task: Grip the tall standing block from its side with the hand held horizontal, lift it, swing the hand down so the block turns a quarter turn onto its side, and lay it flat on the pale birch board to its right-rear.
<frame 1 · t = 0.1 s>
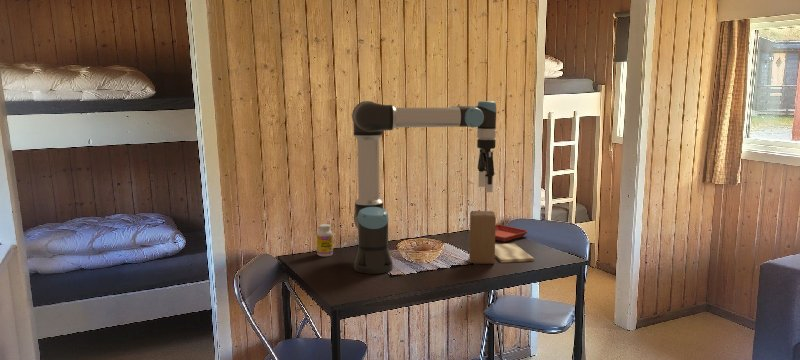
hand: (485, 189, 261), 28 cm above the table, tool pointing down, fingers open, 13 cm apart
block: (481, 261, 255), on the table
board: (507, 253, 266), on the table
plant saucer: (501, 237, 296), on the table
supplement bottle: (325, 255, 265), on the table
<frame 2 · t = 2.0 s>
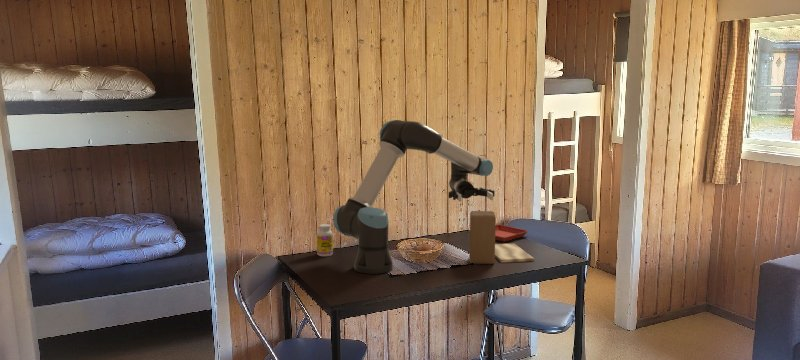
hand: (476, 197, 260), 25 cm above the table, tool horizontal, fingers open, 13 cm apart
nothing on the table moved.
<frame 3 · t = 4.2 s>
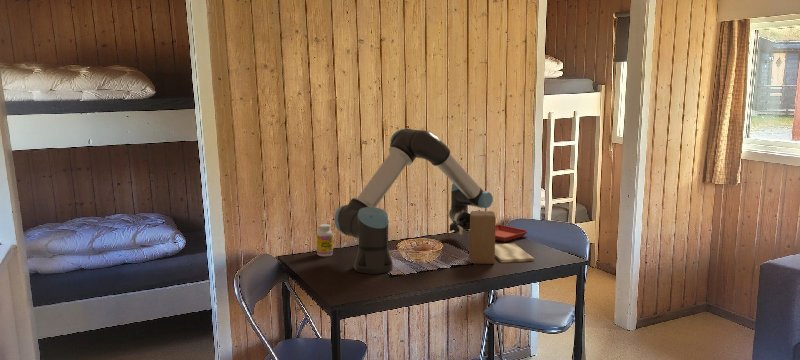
hand: (477, 231, 260), 11 cm above the table, tool horizontal, fingers open, 13 cm apart
nothing on the table moved.
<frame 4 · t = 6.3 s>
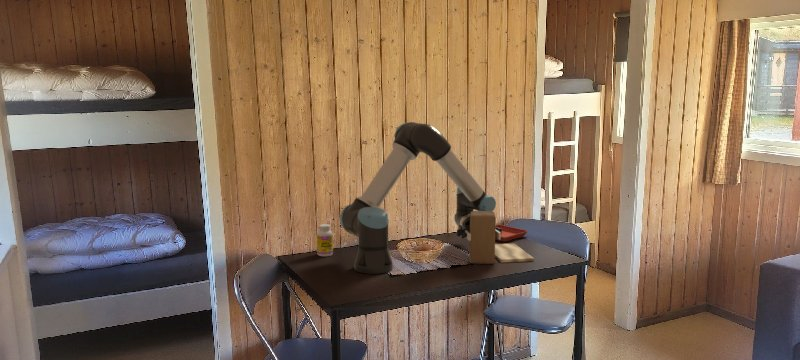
hand: (484, 236, 250), 11 cm above the table, tool horizontal, fingers closed on block, 12 cm apart
block: (481, 261, 255), on the table, touching gripper
everything else where it was.
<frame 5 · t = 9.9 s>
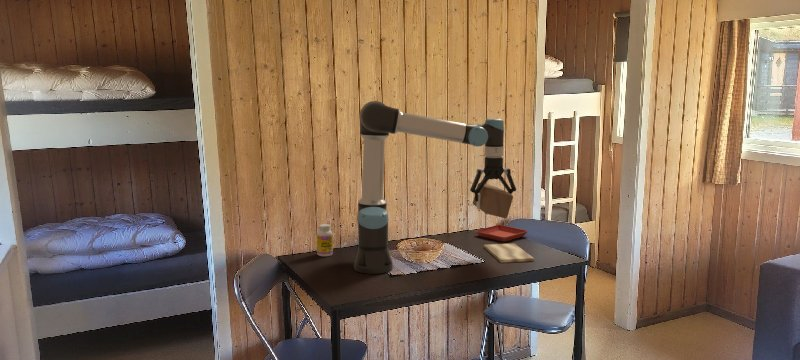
hand: (492, 208, 259), 20 cm above the table, tool pointing down, fingers closed on block, 12 cm apart
block: (485, 195, 269), point 24 cm above the table, touching gripper
everything else where it was.
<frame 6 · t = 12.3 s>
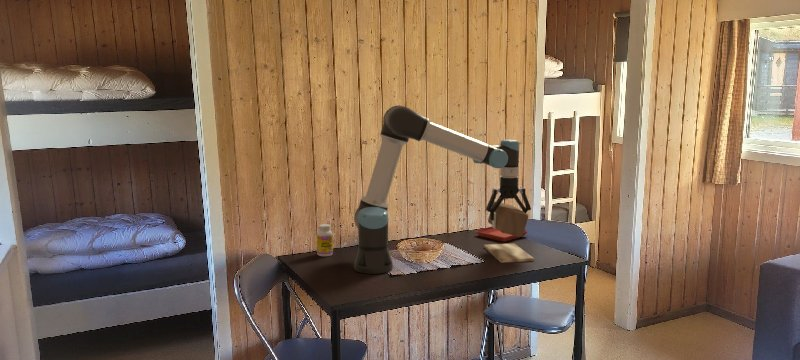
hand: (508, 227, 265), 11 cm above the table, tool pointing down, fingers closed on block, 12 cm apart
block: (500, 213, 275), point 15 cm above the table, touching gripper
everything else where it was.
when the fingers open (3 cm above the table, at t = 14.5 s): block moves 1 cm, resting on board.
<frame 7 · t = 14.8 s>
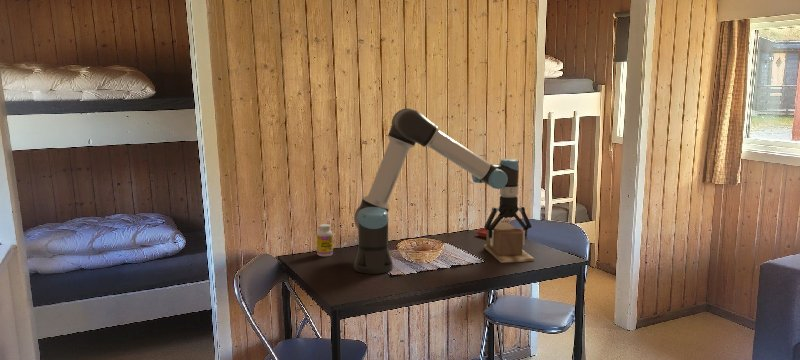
hand: (507, 244, 266), 4 cm above the table, tool pointing down, fingers open, 13 cm apart
block: (496, 233, 276), point 6 cm above the table, touching board
everything else where it was.
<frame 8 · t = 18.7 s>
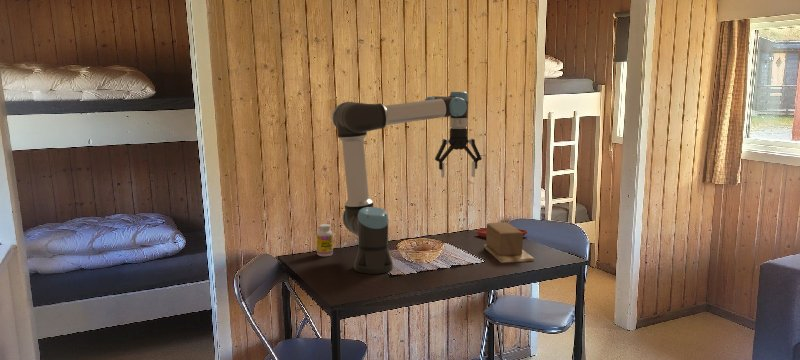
hand: (458, 176, 271), 32 cm above the table, tool pointing down, fingers open, 13 cm apart
nothing on the table moved.
at the end: block tilted 90°; block 12.3 cm from the board (horizontally); the gripper is holding nothing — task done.
